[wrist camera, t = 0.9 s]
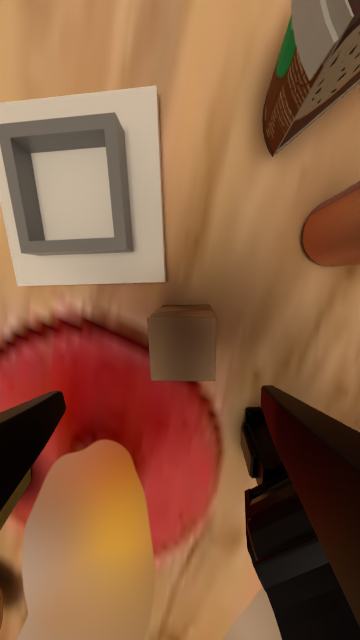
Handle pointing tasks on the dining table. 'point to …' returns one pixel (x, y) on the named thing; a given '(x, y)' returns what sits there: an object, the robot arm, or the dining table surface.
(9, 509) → the plant pot
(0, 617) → the cantaloupe
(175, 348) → the walnut peg
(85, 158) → the socket base
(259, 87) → the dining table surface
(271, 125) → the food container
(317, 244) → the beverage can
